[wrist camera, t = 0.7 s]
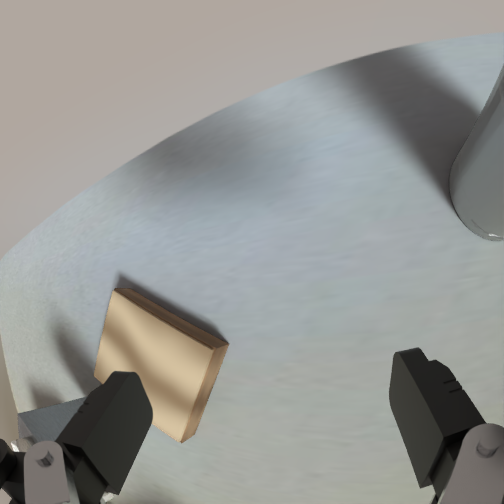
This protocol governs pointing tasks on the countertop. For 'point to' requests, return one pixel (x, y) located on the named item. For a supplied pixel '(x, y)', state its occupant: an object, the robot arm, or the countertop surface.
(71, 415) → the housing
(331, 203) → the countertop surface
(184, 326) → the stand
